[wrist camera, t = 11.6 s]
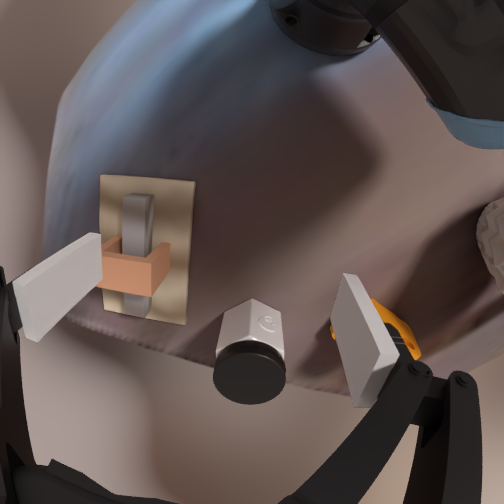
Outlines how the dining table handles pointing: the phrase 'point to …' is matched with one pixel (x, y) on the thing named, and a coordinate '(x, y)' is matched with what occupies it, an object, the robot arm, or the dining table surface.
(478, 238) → the vase
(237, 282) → the dining table surface
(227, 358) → the jar
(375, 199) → the dining table surface
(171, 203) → the rail board
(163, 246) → the clip
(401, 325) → the bracket
